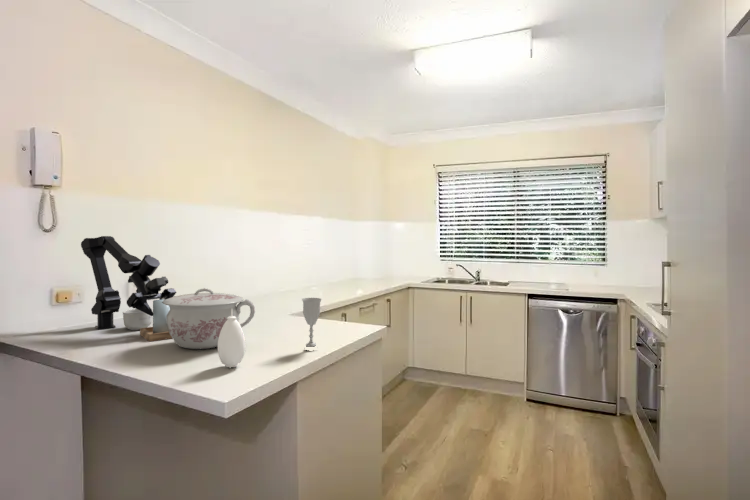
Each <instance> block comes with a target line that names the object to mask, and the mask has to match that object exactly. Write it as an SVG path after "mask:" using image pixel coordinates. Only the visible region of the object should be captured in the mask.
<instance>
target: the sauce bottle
mask: <svg viewBox="0 0 750 500" xmlns="http://www.w3.org/2000/svg"><path fill="white" fill-rule="evenodd" d="M227 319H228V320H227V321H226V322H225V323H224V325H223V327H222V329H221V332H220V335H219V339H218V347H217V355H218V358H219V360H220V362H221V364H223V365H225V367H227V368H228V367H234V368H235V367H237V366H239V365H238V364H240V363H241V362H242V361H243V358H244V356H245V352H246V340H245V339H246V338H245V334H244V331H243V327H242V328H241V326H240V324H241V323H240V322H238V321H237V320H236V317H235V316H233V310H232V309H231V316H230V317H228V318H227Z"/></svg>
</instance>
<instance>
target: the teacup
mask: <svg viewBox="0 0 750 500" xmlns="http://www.w3.org/2000/svg"><path fill="white" fill-rule="evenodd" d="M151 310H152V311H153V308H151ZM122 317H123V325H124V327H126V328H127V329H128V330H129V331H140V328H147V327H150V325H151V324H153V316H150V315H148V314H146V313H144V312H142V311H140V310H138V309H136V308H132V309H127V310H124V311H122Z"/></svg>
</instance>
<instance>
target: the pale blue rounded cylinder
mask: <svg viewBox="0 0 750 500" xmlns="http://www.w3.org/2000/svg"><path fill="white" fill-rule="evenodd" d="M163 300H165V299H162V300H160V299H153V300H152V312H153V314H154V315H153V316H152V327H153V334H154V333H162V332H168V327H167V323H166V315H167V314H168V312H169V310H170V307H169V306H168V305H165V304H163V303H162V302H163Z"/></svg>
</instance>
